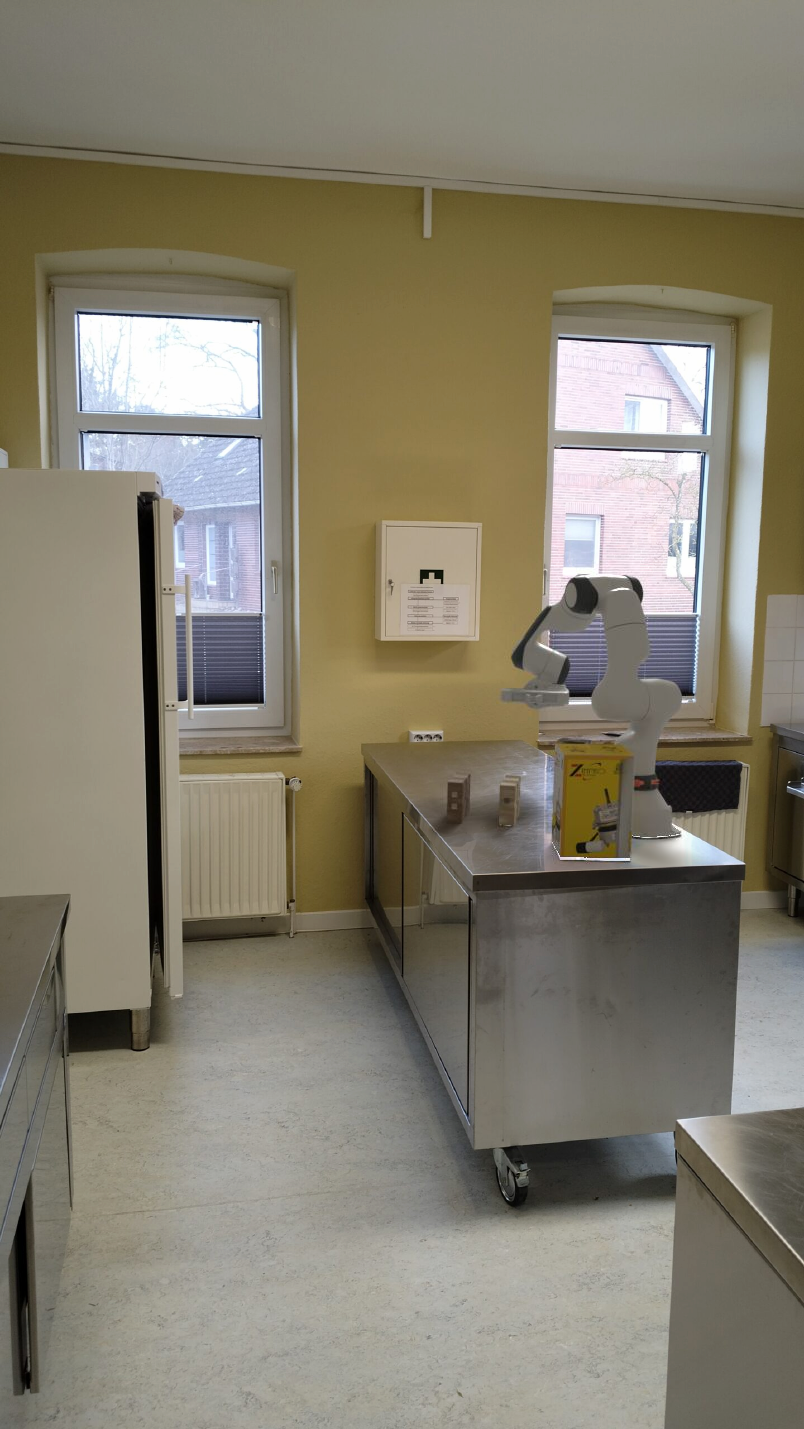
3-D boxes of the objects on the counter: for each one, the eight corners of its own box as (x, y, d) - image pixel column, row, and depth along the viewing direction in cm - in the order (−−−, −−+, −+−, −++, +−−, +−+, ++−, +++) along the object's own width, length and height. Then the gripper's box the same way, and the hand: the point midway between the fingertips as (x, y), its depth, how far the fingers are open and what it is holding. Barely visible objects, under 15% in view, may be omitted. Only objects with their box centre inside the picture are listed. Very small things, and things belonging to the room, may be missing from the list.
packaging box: (630, 862, 234) (635, 756, 231) (560, 861, 234) (564, 754, 231) (617, 843, 250) (621, 744, 247) (551, 842, 250) (554, 743, 247)
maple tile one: (505, 814, 280) (506, 775, 278) (519, 815, 279) (520, 775, 278) (498, 826, 266) (499, 785, 265) (513, 827, 265) (514, 786, 264)
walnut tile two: (455, 810, 283) (456, 772, 281) (469, 811, 282) (470, 773, 281) (446, 822, 269) (447, 782, 268) (461, 823, 268) (462, 783, 267)
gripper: (503, 682, 308) (497, 687, 295) (570, 684, 304) (568, 689, 291) (502, 702, 309) (496, 708, 296) (570, 705, 305) (567, 711, 291)
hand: (532, 699), depth 293 cm, fingers closed
